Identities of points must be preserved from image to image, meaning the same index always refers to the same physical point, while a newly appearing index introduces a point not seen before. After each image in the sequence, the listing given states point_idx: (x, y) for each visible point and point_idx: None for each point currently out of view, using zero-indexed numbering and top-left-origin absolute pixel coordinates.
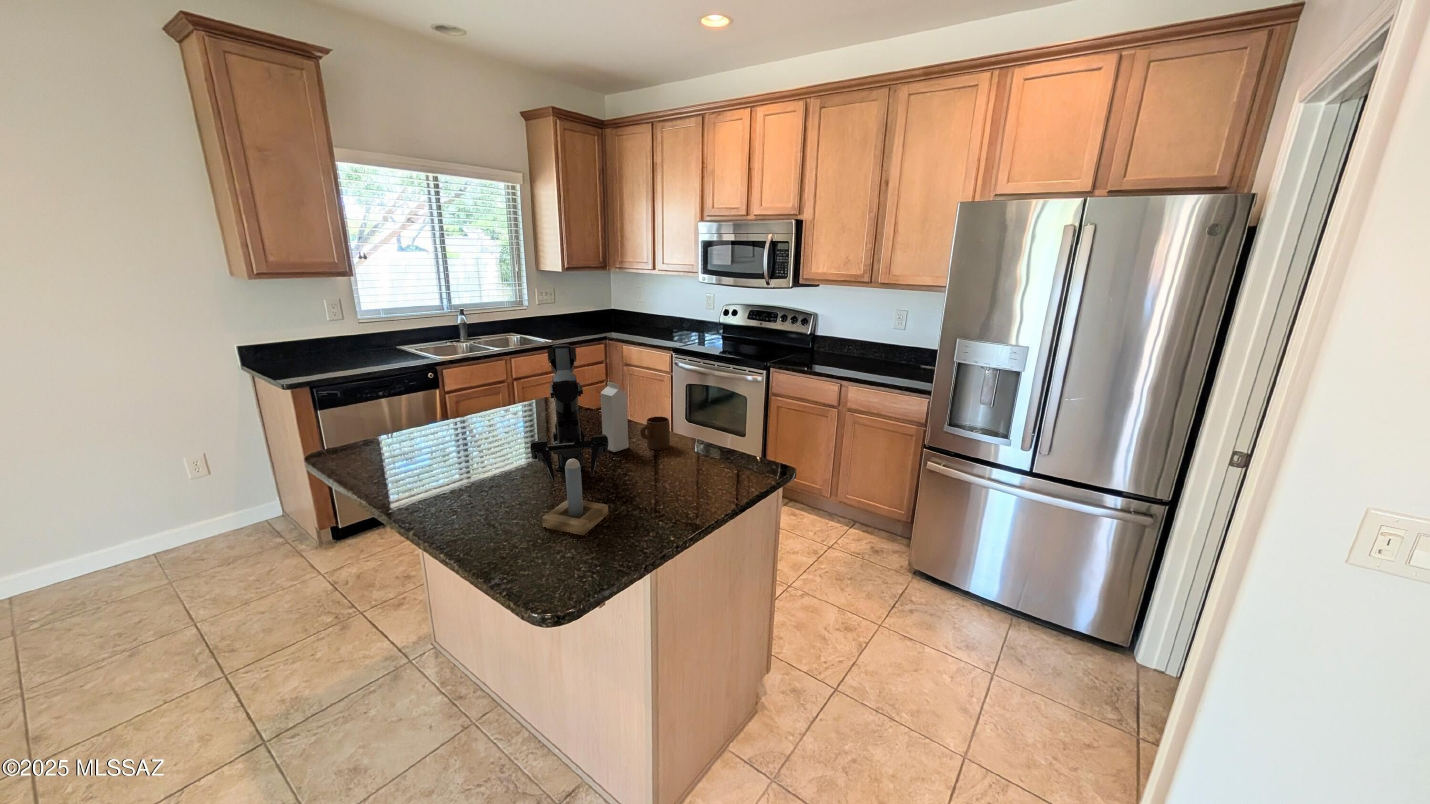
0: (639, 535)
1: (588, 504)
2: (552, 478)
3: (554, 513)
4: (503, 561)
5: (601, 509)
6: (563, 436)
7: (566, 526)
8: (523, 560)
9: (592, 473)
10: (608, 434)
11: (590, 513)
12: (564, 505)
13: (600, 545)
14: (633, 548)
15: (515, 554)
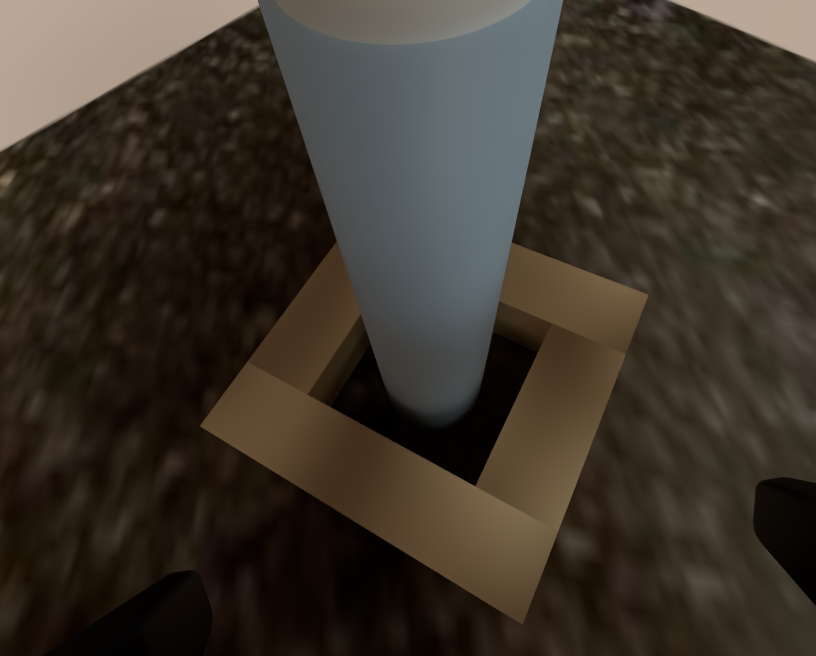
0: (127, 210)
1: (343, 453)
2: (797, 482)
3: (578, 338)
4: (687, 90)
5: (254, 360)
6: None
7: None
8: (606, 91)
9: (163, 585)
10: None
11: (330, 314)
12: (534, 462)
13: (306, 156)
14: (180, 131)
15: (660, 124)
